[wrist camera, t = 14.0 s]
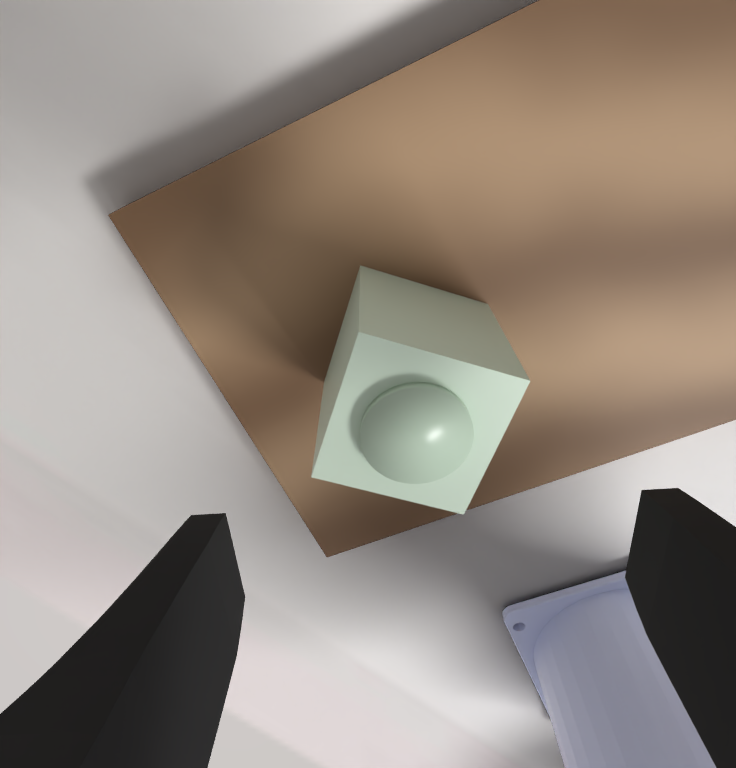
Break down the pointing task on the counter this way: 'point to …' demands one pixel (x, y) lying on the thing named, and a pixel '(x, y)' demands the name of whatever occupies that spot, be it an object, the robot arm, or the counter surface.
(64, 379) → the counter surface
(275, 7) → the counter surface
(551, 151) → the board
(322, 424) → the sage cube with dome
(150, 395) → the counter surface
